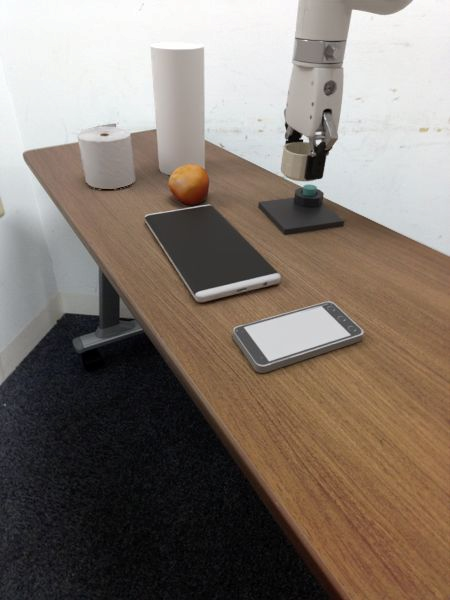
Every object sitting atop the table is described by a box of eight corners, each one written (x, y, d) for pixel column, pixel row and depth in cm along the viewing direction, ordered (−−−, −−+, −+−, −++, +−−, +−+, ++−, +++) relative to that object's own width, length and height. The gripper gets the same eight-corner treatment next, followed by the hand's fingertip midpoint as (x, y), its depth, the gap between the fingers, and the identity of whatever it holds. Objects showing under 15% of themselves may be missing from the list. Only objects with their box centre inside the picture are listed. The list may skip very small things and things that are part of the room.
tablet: (197, 306, 58) (196, 296, 57) (143, 222, 77) (142, 213, 76) (282, 285, 62) (283, 275, 61) (211, 211, 82) (211, 202, 81)
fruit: (225, 193, 85) (207, 163, 79) (196, 220, 84) (176, 192, 78) (203, 180, 90) (185, 151, 84) (176, 205, 89) (156, 178, 83)
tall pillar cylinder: (170, 179, 94) (162, 49, 79) (152, 164, 102) (142, 43, 87) (212, 172, 98) (213, 47, 83) (192, 158, 106) (190, 41, 91)
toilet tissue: (94, 194, 87) (85, 144, 81) (78, 175, 95) (69, 128, 89) (143, 185, 91) (138, 137, 85) (124, 167, 99) (118, 122, 93)
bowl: (309, 165, 78) (313, 140, 75) (330, 180, 72) (334, 153, 70) (273, 169, 76) (276, 143, 73) (291, 184, 70) (295, 157, 68)
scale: (312, 199, 87) (315, 186, 85) (344, 226, 78) (347, 211, 76) (257, 207, 84) (258, 192, 82) (284, 235, 75) (286, 219, 73)
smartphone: (366, 333, 52) (258, 368, 47) (364, 339, 53) (258, 374, 48) (331, 300, 58) (230, 328, 52) (329, 306, 58) (230, 334, 53)
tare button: (311, 191, 84) (312, 183, 83) (318, 196, 82) (319, 188, 81) (299, 192, 83) (300, 185, 82) (306, 197, 81) (307, 190, 81)
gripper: (374, 61, 57) (348, 187, 68) (312, 45, 70) (298, 153, 81) (325, 62, 55) (306, 192, 66) (271, 45, 68) (262, 156, 79)
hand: (302, 169), depth 73 cm, fingers closed on bowl, 7 cm apart
